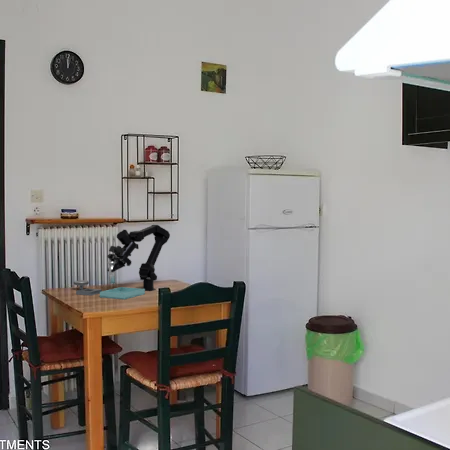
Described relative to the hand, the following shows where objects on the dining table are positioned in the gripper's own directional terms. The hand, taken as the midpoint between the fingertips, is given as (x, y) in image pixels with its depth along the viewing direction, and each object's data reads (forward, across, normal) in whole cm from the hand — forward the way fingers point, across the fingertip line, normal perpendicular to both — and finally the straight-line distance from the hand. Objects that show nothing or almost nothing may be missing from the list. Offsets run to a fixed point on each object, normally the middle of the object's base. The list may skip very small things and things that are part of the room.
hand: (109, 271), depth 314 cm
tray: (+6, +4, +14) cm, 15 cm away
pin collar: (+14, -14, +5) cm, 20 cm away
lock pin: (+4, 0, +6) cm, 7 cm away
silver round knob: (+12, -30, +7) cm, 33 cm away
